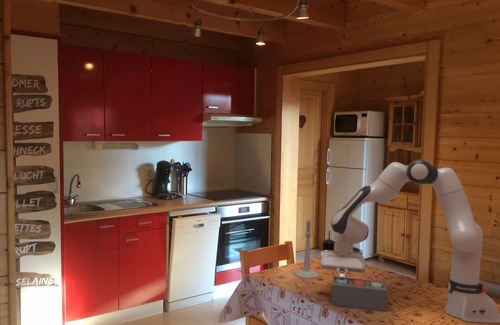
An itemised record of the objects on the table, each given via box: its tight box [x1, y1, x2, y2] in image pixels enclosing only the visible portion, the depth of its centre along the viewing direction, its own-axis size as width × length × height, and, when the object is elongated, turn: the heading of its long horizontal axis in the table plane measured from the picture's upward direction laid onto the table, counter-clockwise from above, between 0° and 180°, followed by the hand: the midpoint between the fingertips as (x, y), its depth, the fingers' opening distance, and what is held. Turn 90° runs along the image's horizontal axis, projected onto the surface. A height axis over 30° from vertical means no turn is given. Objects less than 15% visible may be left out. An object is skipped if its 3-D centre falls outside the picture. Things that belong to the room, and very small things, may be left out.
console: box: [330, 276, 388, 312], centre depth 192 cm, size 23×12×9 cm, turn 76°
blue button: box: [336, 278, 347, 284], centre depth 194 cm, size 5×5×4 cm
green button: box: [371, 282, 382, 288], centre depth 190 cm, size 5×5×4 cm
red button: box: [353, 279, 365, 286], centre depth 192 cm, size 5×5×4 cm
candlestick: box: [294, 219, 319, 280], centre depth 230 cm, size 13×13×30 cm
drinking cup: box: [321, 230, 335, 251], centre depth 251 cm, size 8×8×20 cm
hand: (341, 278), depth 193 cm, fingers closed, pressing on blue button
